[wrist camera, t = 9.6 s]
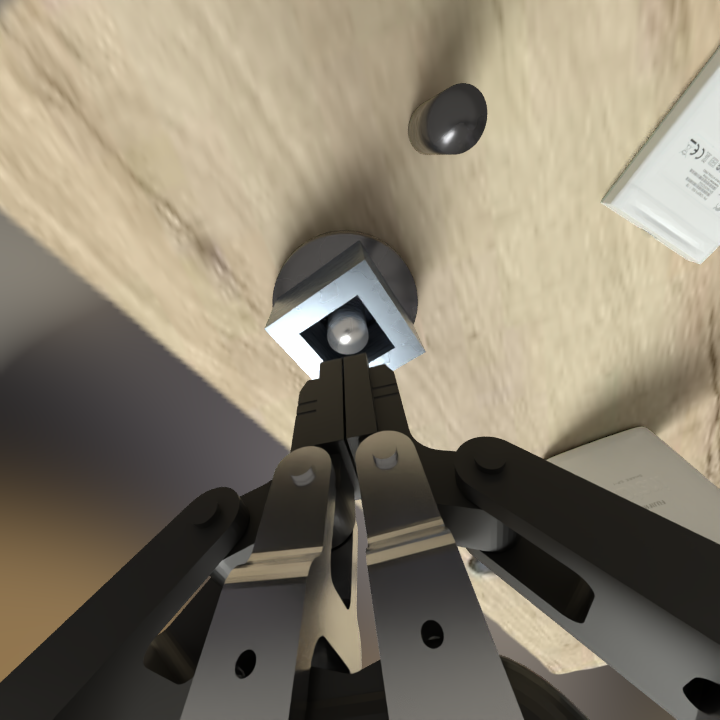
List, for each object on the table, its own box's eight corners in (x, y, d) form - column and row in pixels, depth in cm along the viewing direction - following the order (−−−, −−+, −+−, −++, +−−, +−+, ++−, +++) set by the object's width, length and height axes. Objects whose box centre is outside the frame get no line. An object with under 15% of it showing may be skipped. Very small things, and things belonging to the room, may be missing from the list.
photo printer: (649, 417, 29) (829, 568, 18) (648, 446, 31) (809, 596, 20) (533, 457, 30) (636, 614, 20) (540, 482, 33) (636, 635, 22)
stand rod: (453, 99, 16) (491, 81, 12) (449, 153, 17) (482, 152, 13) (408, 102, 16) (431, 85, 12) (407, 156, 17) (428, 156, 13)
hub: (416, 225, 19) (437, 242, 15) (412, 356, 23) (427, 395, 20) (260, 236, 18) (241, 257, 15) (288, 367, 23) (279, 408, 19)
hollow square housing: (359, 239, 18) (364, 259, 14) (411, 319, 21) (425, 352, 17) (276, 298, 19) (264, 329, 16) (335, 365, 22) (335, 403, 19)
